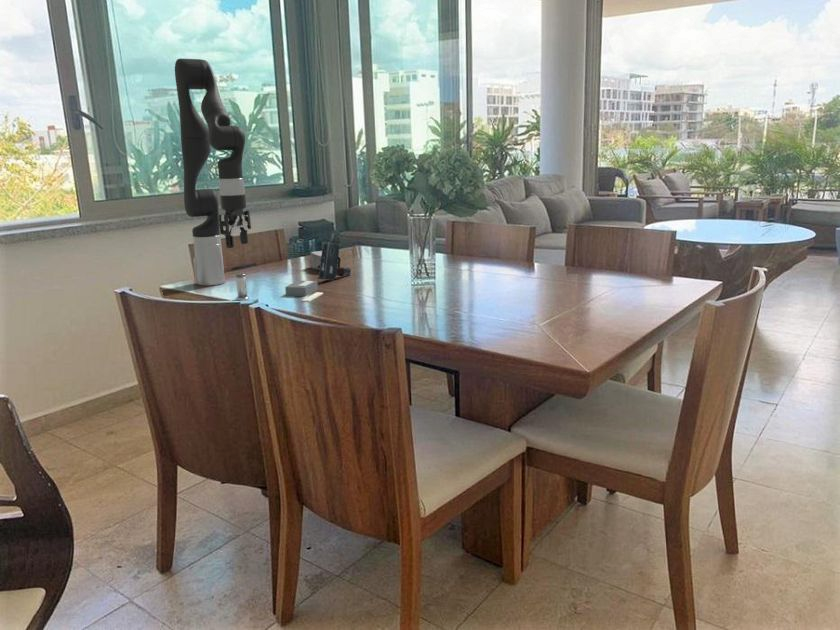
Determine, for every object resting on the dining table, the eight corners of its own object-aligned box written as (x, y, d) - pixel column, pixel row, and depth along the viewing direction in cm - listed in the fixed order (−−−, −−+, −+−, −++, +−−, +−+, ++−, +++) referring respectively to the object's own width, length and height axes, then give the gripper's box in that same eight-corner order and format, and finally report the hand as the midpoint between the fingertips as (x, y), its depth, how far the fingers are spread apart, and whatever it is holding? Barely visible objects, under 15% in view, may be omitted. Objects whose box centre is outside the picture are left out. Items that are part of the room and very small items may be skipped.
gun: (355, 237, 239) (328, 231, 227) (350, 282, 240) (322, 279, 228) (350, 236, 241) (322, 231, 228) (344, 281, 242) (317, 278, 229)
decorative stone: (322, 266, 263) (302, 268, 256) (322, 249, 261) (302, 251, 254) (345, 270, 253) (325, 273, 246) (345, 253, 251) (324, 255, 244)
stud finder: (286, 296, 212) (285, 286, 211) (298, 289, 221) (297, 279, 220) (305, 297, 210) (305, 286, 209) (317, 290, 219) (317, 280, 218)
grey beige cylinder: (234, 300, 207) (231, 275, 205) (240, 297, 210) (238, 273, 208) (245, 300, 206) (242, 275, 204) (251, 297, 209) (249, 273, 207)
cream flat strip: (302, 301, 203) (302, 300, 203) (316, 293, 213) (316, 292, 213) (309, 301, 202) (309, 300, 202) (323, 293, 212) (323, 292, 212)
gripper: (231, 195, 192) (236, 249, 196) (255, 191, 205) (259, 242, 209) (208, 195, 194) (214, 249, 198) (233, 191, 207) (238, 242, 211)
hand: (237, 245), depth 204 cm, fingers open, 8 cm apart
